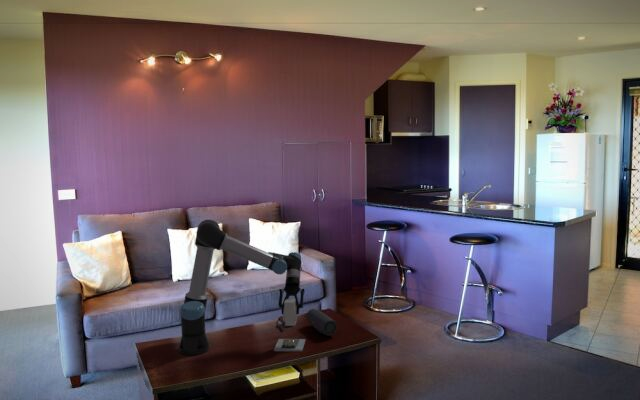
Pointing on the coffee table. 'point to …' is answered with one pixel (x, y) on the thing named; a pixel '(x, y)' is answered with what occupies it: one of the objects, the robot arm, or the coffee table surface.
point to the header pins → (288, 344)
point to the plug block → (289, 312)
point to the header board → (297, 342)
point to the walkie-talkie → (281, 323)
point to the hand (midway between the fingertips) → (289, 319)
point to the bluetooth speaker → (321, 322)
